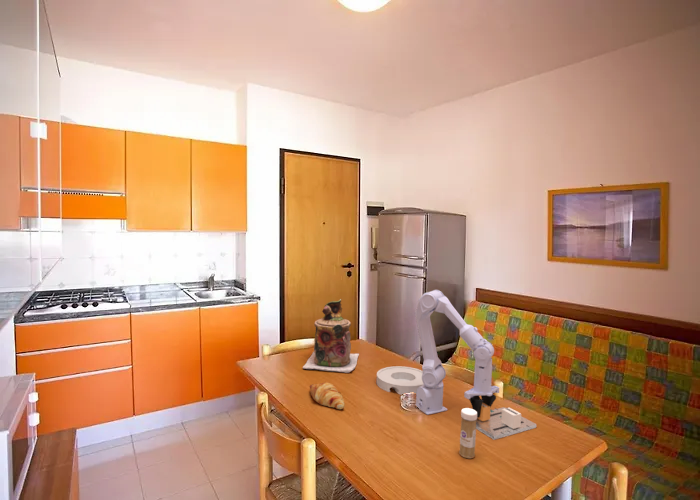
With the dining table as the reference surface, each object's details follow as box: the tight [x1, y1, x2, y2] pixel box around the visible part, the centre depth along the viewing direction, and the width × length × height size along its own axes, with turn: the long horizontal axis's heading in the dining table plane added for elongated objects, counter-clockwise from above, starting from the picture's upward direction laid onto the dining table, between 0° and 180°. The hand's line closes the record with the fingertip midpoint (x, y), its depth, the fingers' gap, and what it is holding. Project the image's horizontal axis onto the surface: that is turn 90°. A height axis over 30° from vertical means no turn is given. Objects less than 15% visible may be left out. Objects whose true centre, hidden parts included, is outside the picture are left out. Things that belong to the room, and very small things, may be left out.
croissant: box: [309, 381, 345, 410], centre depth 151 cm, size 21×10×8 cm, turn 40°
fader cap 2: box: [501, 407, 522, 429], centre depth 133 cm, size 4×5×5 cm
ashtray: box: [376, 365, 424, 396], centre depth 170 cm, size 23×23×4 cm
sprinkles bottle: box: [458, 407, 477, 460], centre depth 116 cm, size 5×5×14 cm
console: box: [476, 406, 537, 441], centre depth 136 cm, size 20×15×1 cm
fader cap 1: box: [471, 403, 492, 421], centre depth 138 cm, size 4×5×5 cm
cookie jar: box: [302, 298, 360, 374], centre depth 192 cm, size 25×25×32 cm
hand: (481, 415), depth 138 cm, fingers closed on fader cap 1, 3 cm apart
